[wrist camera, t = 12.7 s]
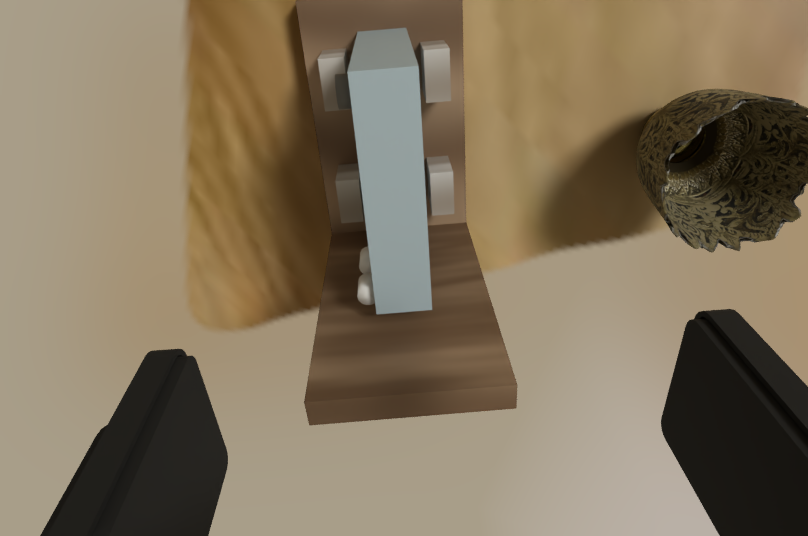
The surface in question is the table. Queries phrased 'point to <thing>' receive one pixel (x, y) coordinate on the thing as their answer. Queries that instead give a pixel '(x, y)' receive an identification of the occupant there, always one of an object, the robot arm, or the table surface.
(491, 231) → the table surface
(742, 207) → the cup
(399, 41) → the door
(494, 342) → the cabinet base
